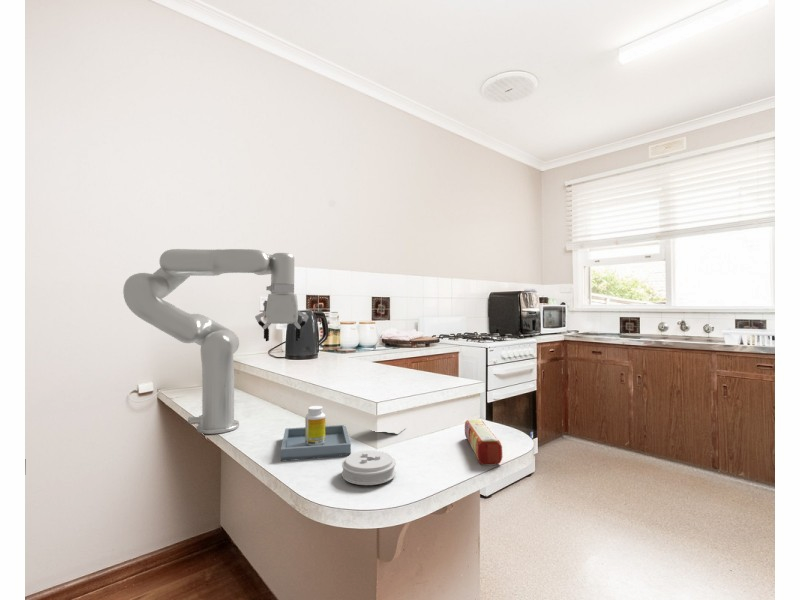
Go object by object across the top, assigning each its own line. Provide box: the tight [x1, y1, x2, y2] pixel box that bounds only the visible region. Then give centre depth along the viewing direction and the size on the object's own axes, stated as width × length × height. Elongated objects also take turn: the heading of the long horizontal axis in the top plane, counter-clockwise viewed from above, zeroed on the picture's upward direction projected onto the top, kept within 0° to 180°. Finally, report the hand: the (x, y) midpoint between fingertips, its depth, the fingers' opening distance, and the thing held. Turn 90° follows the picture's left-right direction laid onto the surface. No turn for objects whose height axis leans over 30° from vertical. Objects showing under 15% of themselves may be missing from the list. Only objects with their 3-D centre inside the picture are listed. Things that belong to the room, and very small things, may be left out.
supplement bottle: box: [304, 405, 326, 446], centre depth 116 cm, size 6×6×10 cm
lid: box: [341, 450, 397, 486], centre depth 96 cm, size 13×13×5 cm
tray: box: [280, 424, 352, 461], centre depth 116 cm, size 18×18×3 cm
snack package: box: [464, 418, 503, 466], centre depth 113 cm, size 21×7×7 cm, turn 0°
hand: (282, 340), depth 137 cm, fingers open, 9 cm apart
